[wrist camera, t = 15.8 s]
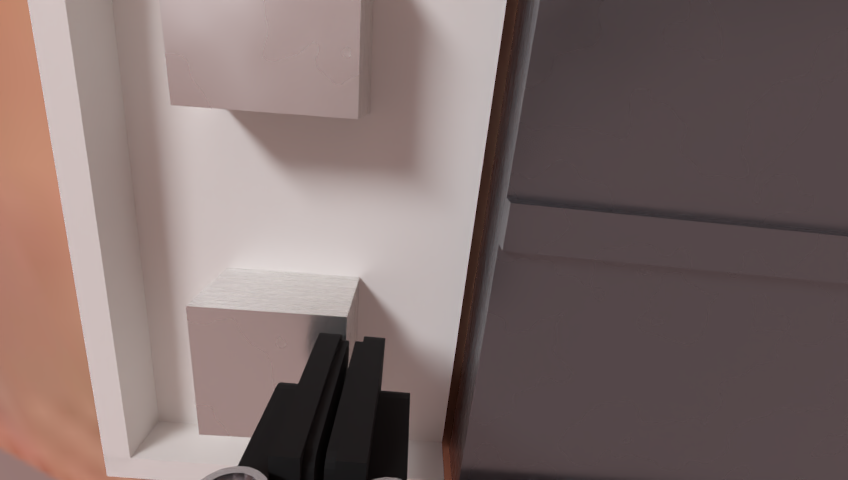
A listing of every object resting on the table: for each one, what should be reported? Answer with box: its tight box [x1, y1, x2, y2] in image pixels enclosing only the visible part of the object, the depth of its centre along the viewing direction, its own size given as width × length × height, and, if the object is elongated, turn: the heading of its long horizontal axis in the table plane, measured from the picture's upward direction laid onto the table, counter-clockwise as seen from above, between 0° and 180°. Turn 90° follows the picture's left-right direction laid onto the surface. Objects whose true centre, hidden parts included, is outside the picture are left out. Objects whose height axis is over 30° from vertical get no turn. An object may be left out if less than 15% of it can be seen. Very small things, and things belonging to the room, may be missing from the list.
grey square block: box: [186, 268, 360, 438], centre depth 13 cm, size 4×4×2 cm
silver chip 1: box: [159, 0, 374, 119], centre depth 10 cm, size 4×4×2 cm
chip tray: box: [28, 0, 507, 480], centre depth 12 cm, size 11×19×2 cm, turn 174°
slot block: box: [449, 0, 848, 480], centre depth 12 cm, size 18×19×3 cm
